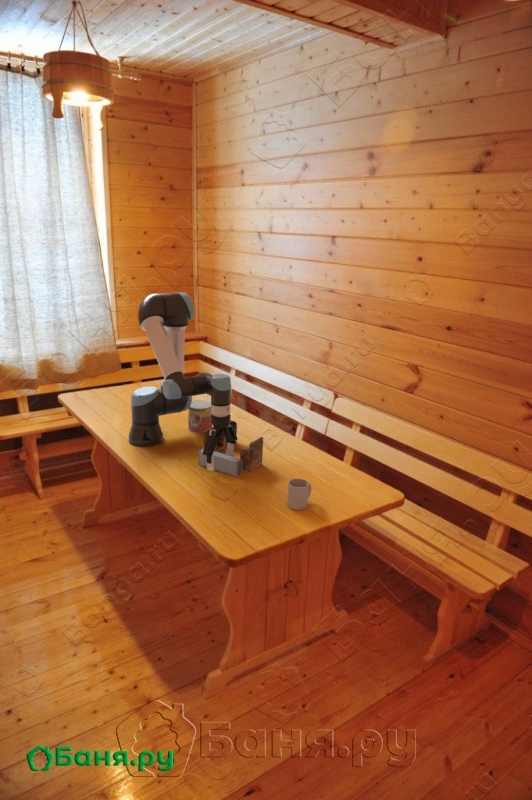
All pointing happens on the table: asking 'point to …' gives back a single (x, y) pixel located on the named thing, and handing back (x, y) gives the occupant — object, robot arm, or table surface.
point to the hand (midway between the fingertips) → (220, 464)
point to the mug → (234, 429)
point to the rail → (223, 463)
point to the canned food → (199, 416)
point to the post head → (220, 445)
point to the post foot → (252, 455)
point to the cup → (298, 493)
